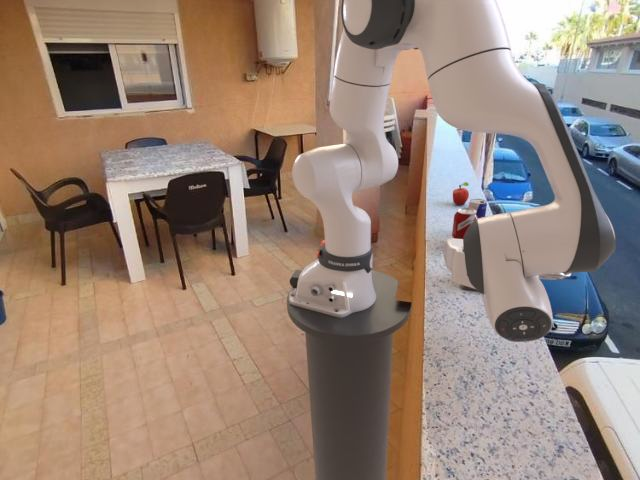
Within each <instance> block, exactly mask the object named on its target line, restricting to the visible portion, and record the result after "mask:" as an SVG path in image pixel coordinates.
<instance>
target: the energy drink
mask: <svg viewBox="0 0 640 480" xmlns="http://www.w3.org/2000/svg"><path fill="white" fill-rule="evenodd" d="M487 207H488V203H487V200H486V199H482V198H471V199H470V200H469V202H468V207H467V208H471V209H474V210H476V211H477V213H476V214H477V216H478V218H482V217H486V214H487V213H486V212H487Z"/></svg>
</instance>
